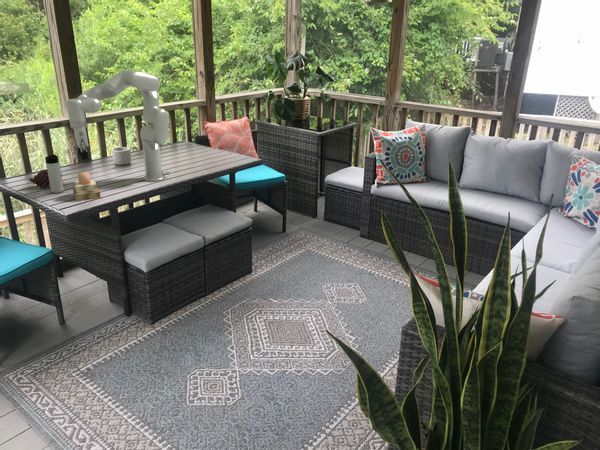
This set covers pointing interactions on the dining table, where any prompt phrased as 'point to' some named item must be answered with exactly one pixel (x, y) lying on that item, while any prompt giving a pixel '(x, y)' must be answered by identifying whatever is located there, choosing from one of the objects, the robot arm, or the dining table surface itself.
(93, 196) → the oak base block
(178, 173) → the dining table surface
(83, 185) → the maple top block
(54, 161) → the travel mug
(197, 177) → the dining table surface
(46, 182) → the pine cone
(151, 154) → the robot arm
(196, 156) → the dining table surface
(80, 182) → the terracotta round block
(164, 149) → the dining table surface
